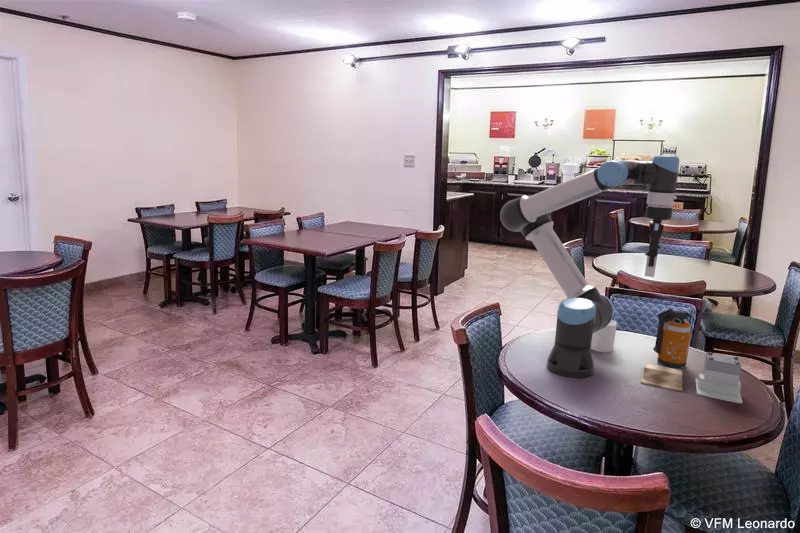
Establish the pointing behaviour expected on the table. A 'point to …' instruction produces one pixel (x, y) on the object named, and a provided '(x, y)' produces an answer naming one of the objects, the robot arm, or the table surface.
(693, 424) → the table surface
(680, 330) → the canister
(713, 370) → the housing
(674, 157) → the robot arm
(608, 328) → the mug
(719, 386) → the stand
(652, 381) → the stand
